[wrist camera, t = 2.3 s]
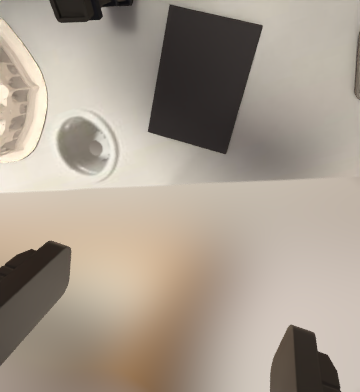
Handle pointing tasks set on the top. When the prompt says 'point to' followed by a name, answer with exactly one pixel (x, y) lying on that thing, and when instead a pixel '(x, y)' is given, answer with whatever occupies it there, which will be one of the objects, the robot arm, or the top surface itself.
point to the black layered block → (83, 9)
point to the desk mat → (202, 77)
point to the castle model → (19, 98)
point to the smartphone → (358, 73)
